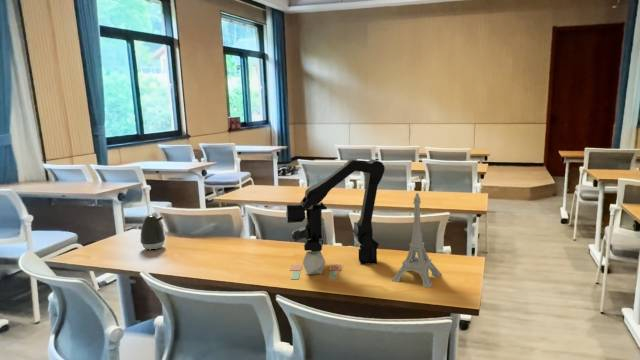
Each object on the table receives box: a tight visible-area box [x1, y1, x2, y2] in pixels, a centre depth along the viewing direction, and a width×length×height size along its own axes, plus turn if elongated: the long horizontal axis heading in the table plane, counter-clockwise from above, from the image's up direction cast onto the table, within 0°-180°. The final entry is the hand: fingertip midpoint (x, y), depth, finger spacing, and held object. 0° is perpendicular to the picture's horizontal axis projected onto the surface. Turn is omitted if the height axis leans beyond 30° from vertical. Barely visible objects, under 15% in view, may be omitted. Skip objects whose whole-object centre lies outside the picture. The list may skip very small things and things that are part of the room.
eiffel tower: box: [391, 192, 442, 289], centre depth 150 cm, size 13×13×30 cm
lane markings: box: [289, 263, 342, 281], centre depth 161 cm, size 19×14×1 cm
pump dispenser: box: [139, 214, 166, 251], centre depth 194 cm, size 10×10×15 cm
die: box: [302, 250, 326, 275], centre depth 159 cm, size 8×9×10 cm
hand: (315, 260), depth 166 cm, fingers closed
